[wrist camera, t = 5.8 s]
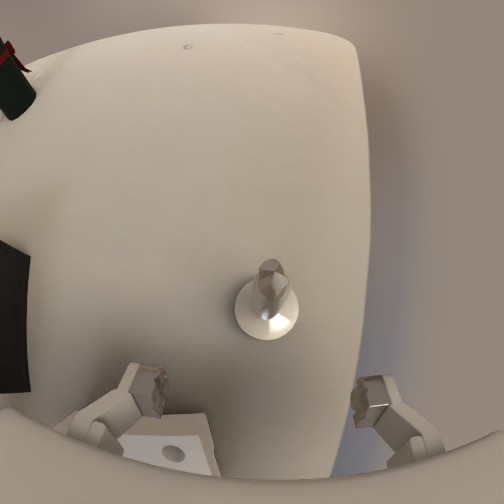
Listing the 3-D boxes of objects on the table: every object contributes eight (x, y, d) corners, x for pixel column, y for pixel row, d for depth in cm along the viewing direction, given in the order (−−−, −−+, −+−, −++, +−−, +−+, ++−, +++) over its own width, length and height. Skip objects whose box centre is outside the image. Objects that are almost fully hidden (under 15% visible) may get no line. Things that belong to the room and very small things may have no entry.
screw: (248, 275, 24) (302, 294, 23) (228, 328, 23) (283, 348, 22) (239, 199, 12) (349, 237, 11) (192, 307, 10) (314, 352, 10)
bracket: (100, 467, 19) (69, 507, 11) (75, 410, 19) (31, 444, 12) (223, 473, 19) (217, 531, 12) (205, 412, 20) (189, 468, 12)
